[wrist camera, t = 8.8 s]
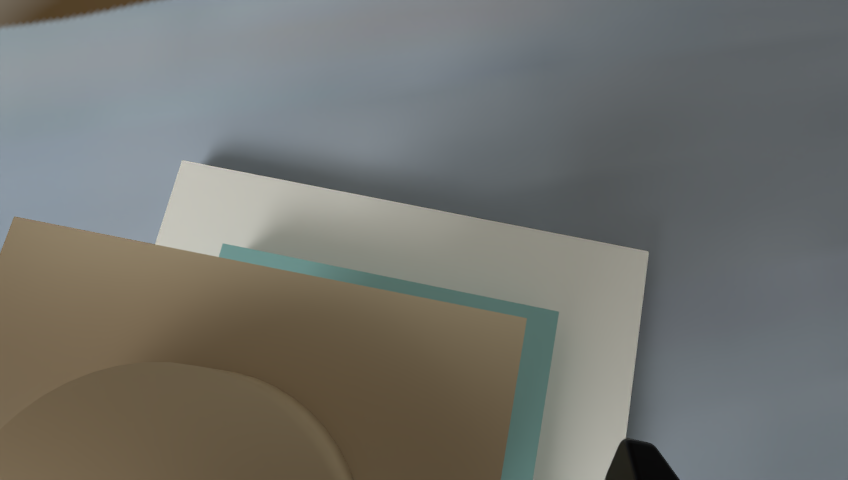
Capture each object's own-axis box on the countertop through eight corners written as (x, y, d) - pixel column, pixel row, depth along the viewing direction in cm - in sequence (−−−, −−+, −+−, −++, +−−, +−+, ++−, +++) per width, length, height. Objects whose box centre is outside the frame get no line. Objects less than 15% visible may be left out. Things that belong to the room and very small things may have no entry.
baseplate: (568, 798, 16) (593, 868, 13) (38, 664, 17) (-29, 708, 14) (638, 259, 19) (667, 238, 17) (194, 171, 20) (161, 140, 18)
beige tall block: (427, 572, 16) (413, 1147, 4) (239, 529, 17) (-372, 924, 4) (464, 375, 17) (546, 300, 5) (287, 339, 18) (-65, 182, 5)
